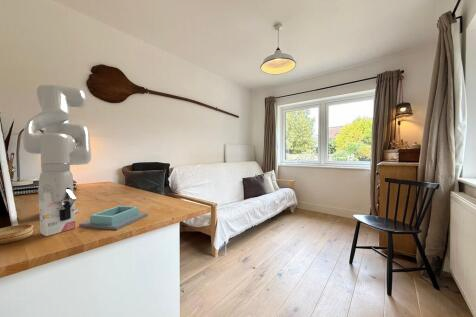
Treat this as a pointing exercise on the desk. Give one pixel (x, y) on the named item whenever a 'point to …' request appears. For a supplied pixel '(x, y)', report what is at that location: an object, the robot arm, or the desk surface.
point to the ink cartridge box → (53, 216)
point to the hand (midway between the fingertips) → (57, 218)
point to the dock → (114, 218)
